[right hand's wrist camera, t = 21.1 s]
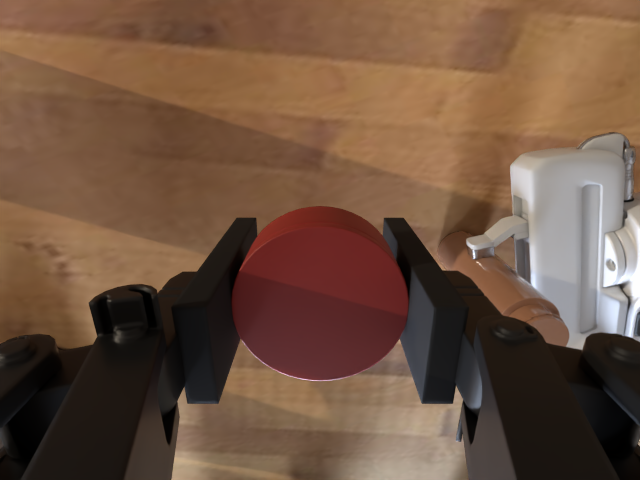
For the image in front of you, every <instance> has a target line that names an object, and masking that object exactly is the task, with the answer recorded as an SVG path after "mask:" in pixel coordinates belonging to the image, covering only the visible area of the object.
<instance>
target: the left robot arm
mask: <svg viewBox="0 0 640 480" xmlns="http://www.w3.org/2000/svg"><path fill="white" fill-rule="evenodd" d="M635 160H636V151H635V147H634V146H630V143H629V140H628V139H627V137H626V136H624V135H623V134H621V133H618V132H609V133H605V134H601V135H597V136H593V137H590V138H588V139H586V140H585V141H583V142H582V143H581V144H580V145H579V146H578V147H562V148H552V149H544V150H537V151H532V152H527V153H523V154H521V155H520V156H519V157H518V158H517V159H516V160H515V161H514V162H513V163H512V164H511V166H510V175H511V193H512V211H513V216H509V217H505V218H501V219H500V220H499V221H498V222H497V223H495V224H494V225H493V226H492V227H491V228H490V229H488V230H487V231H486V232H485V233H484V234H483V235H478V236H474V237H470V238H467V239H466V243H467V252H468V255H470V256H471V258H472V259H477V260H478V259H482V258H483V257H486V258H487V257H492V256H494V248H495V247H496V246H498V245H499V244H500V243H502V242H503V241H505V240H506V239H507V238H509V237H510V236H511V237H512V238H514V247H515V265H516V272H517V273H518V274H519V275H520V276H521V277H523V278H524V279H525V280H526V281H527V282H528V283H530V284H531V285H532V286H533V287H534V288H535V289H537V290H538V291H539V292H540V293H541V294H542V295H544V296H545V297H546V298H547V299H548V300H549V301H551V302H552V303H553V304H554V305H555V306H556V307H557V309H558V311H559V314H560V318H562V319H563V321H564V323H565V325H566V326H567V328H568V330H569V341H568V344H567V345H566V347H570V348H575V349H580V350H582V349H583V346H584V343H585V339H586V337H588V336H589V335H590V334H593V333H600V332H603V333H612V334H613V333H616V334H621V335H622V336H624V335H625V336H628V337H631V338H633V339H635V340H637V341H639V342H640V192H636V193H633V191H634V175H633V168H634V163H635Z"/></svg>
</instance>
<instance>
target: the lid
mask: <svg viewBox="0 0 640 480" xmlns="http://www.w3.org/2000/svg"><path fill="white" fill-rule="evenodd" d="M231 304H232V314H233V321H234V324H235V327H236V330H237V332H238V334H239V336H240V338H241V340H242V341H243V343H244V344H245V346H246V347H247V348H248V349H249V350H250V352H251V353H252V354H253V355H254V356H255V357H257V358H258V359H259V360H260V361H261V362H263V363H264V364H266V365H267V366H269V367H270V368H272V369H274V370H276V371H278V372H280V373H282V374H285V375H288V376H291V377H295V378H298V379H304V380H312V381H328V380H336V379H342V378H346V377H349V376H353V375H355V374H358V373H360V372H363V371H364V370H366V369H368V368H370V367H372V366H373V365H375V364H376V363H378V362H379V361H380V360H381V359H383V358H384V357H385V356H386V355H387V354H388V353H389V352H390V351H391V349H392V348H393V347H394V346H395V344H396V343H397V341H398V340H399V338H400V336H401V334H402V332H403V330H404V328H405V325H406V322H407V316H408V306H409V295H408V288H407V285H406V282H405V279H404V276H403V274H402V272H401V270H400V268H399V266H398V264H397V262H396V260H395V257H394V255H393V253H392V251H391V249H390V247H389V245H388V243H387V242H386V240H385V239H384V237H383V236H382V235H381V233H380V232H379V231H378V230H377V229H376V228H375V227H374V226H373V225H371V224H370V223H369V222H368V221H366V220H365V219H363V218H362V217H360V216H358V215H356V214H354V213H352V212H349V211H346V210H343V209H339V208H334V207H324V206H316V207H307V208H301V209H297V210H294V211H291V212H288V213H286V214H284V215H282V216H280V217H279V218H277V219H276V220H274V221H272V222H271V223H270V224H269V225H268V226H266V227H265V228H264V229H263V230H262V231H261V233H260V234H259V235H258V236H257V237H256V239H255V241H254V242H253V244H252V246H251V248H250V250H249V252H248V254H247V256H246V258H245V260H244V262H243V264H242V266H241V268H240V270H239V272H238V274H237V277H236V279H235V282H234V285H233V289H232V296H231Z"/></svg>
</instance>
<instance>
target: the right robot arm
mask: <svg viewBox="0 0 640 480" xmlns="http://www.w3.org/2000/svg"><path fill="white" fill-rule="evenodd" d="M256 237H257V223H256V218H236V220H235V221H234V222H233V224H232V225H231V226H230V228H229V229H228V230H227V232H226V233H225V234H224V236H223V237H222V239H221V240H220V241H219V243H218V244H217V245H216V247H215V248H214V249H213V251H212V252H211V253H210V255H209V256H208V258H207V259H206V260H205V262H204V263H203V264H202V266H201V267H200V268H199V270H198V271H197V272H182V273H180V274H178V275H176V276H175V277H173V278H171V279H170V280H169V281H168V282H167V283H166V284H165V286H164V287H163V288H162V290H160V291H159V293H158V294H157V290H156V289H155V288H153V287H152V286H148V285H143V284H136V285H126V286H121V287H117V288H114V289H111V290H108V291H105V292H103V293H101V294H99V295H98V296H96V297H94V298H93V299H92V300H91V301H90V302H89V306H90V310H91V314H92V317H93V321H94V325H95V329H96V333H97V338H96V340H95V342H94V344H93V345H89V346H85V347H79V348H74V349H69V350H61V349H58V348H57V345H56V342H55V339H54V338H52V337H51V336H50V335H43V334H35V335H24V336H19V337H18V338H17V337H15V338H12V339H9V340H7V341H6V342H4V343H1V344H0V480H171V478H172V470H173V463H174V455H175V448H176V440H177V433H178V426H179V418H180V416H179V409H178V403H177V400H178V398H179V396H180V394H181V392H182V390H183V388H184V386H185V392H186V398H187V404H218V403H219V400H220V397H221V394H222V392H223V389H224V386H225V383H226V380H227V377H228V374H229V371H230V368H231V365H232V362H233V359H234V356H235V353H236V350H237V347H238V344H239V342H240V339H241V338H240V336H239V334H238V332H237V330H236V327H235V324H234V321H233V314H232V304H231V296H232V289H233V285H234V282H235V279H236V277H237V274H238V272H239V270H240V268H241V266H242V264H243V262H244V260H245V258H246V256H247V254H248V252H249V250H250V248H251V246H252V244H253V242H254V241H255V239H256ZM383 237H384V239H385V240H386V242H387V243H388V245H389V247H390V249H391V251H392V253H393V255H394V257H395V260H396V262H397V264H398V266H399V268H400V270H401V272H402V274H403V276H404V279H405V282H406V285H407V288H408V295H409V306H408V316H407V322H406V325H405V328H404V330H403V332H402V334H401V336H400V341H401V344H402V347H403V350H404V353H405V356H406V358H407V361H408V364H409V367H410V370H411V373H412V376H413V379H414V382H415V385H416V388H417V391H418V394H419V397H420V400H421V403H422V404H453V399H454V394H455V388H456V385H457V388H458V390H459V392H460V394H461V396H462V398H463V403H462V409H461V414H460V420H459V425H458V430H457V437H456V441H460V442H461V439H462V434H463V440H464V447H465V454H466V462H467V469H468V477H469V480H640V446H639V445H638V441H639V439H640V342H639V341H637V340H635V339H633V338H631V337H628V336H625V335H624V336H622V335H621V334H616V333H613V334H612V333H603V332H600V333H593V334H590V335H589V336H588V337H586V339H585V343H584V346H583V349H582V350H580V349H575V348H570V347H564V346H559V345H554V344H549V343H546V341H545V339H544V338H543V336H542V335H541V334H540V332H539V331H538V330H537V329H536V328H534V327H533V326H531V325H530V324H528V323H526V322H524V321H521V320H519V319H516V318H513V317H508V316H504V315H502V314H501V313H500V311H499V310H498V309H497V308H496V307H495V306H494V304H493V303H492V302H491V301H490V300H489V299H488V298H487V296H484V293H483V292H482V291H481V290H480V288H478V286H477V285H476V284H475V283H474V281H473V280H472V279H471V278H470V277H468V276H466V275H464V274H463V273H461V272H459V271H442V269H441V268H440V267H439V265H438V264H437V263H436V261H435V260H434V259H433V257H432V256H431V254H430V253H429V252H428V250H427V249H426V248H425V246H424V245H423V244H422V242H421V241H420V240H419V238H418V237H417V235H416V234H415V233H414V231H413V230H412V229H411V227H410V226H409V225H408V223H407V222H406V221H405V219H404V218H384V227H383Z"/></svg>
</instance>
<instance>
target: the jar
mask: <svg viewBox="0 0 640 480" xmlns="http://www.w3.org/2000/svg"><path fill="white" fill-rule="evenodd" d="M470 237H474V235H472V234H470V233H468V232H463V231H460V232H454V233H452V234H450V235H448V236H446V237H445V238H444V239H443V240H442V241H441V243H440V245H439V247H438V251H437V255H438V259H439V261H440V263H441V264H442V266H443V267H444V268H445V270H446V271H459V272H461V273H463V274H464V275H466V276H468V277H470V278H471V279H472V280H473V281H474V283H475V284H476V285H477V286H478V288H480V290H481V291H482V292H483V293H484V296H487V298H488V299H489V300H490V301H491V302H492V303H493V304H494V306H495V307H496V308H497V309H498V310H499V311H500V313H501V314H502V315H504V316H508V317H513V318H516V319H519V320H521V321H524V322H526V323H528V324H530V325H531V326H533V327H534V328H536V329H537V330H538V331H539V332H540V334H541V335H542V336H543V338H544V339H545V341H546V343H549V344H554V345H559V346H564V347H566V345H567V344H568V341H569V330H568V328H567V326H566V325H565V323H564V321H563V319H562V318H560V314H559V311H558V309H557V307H556V306H555V305H554V304H553V303H552V302H551V301H549V300H548V299H547V298H546V297H545V296H544V295H542V294H541V293H540V292H539V291H538V290H537V289H535V288H534V287H533V286H532V285H531V284H530V283H528V282H527V281H526V280H525V279H524V278H523V277H521V276H520V275H519V274H518V273H517V272H516V271H514V270H513V269H512V268H511V267H510V266H509V265H507V264H506V263H505V262H504V261H503V260H502V259H500V258H499V257H498V256H497V255H496V254H495V253H494V256H492V257H487V258H486V257H483V258H482V259H478V260H477V259H472V258H471V256H470V255H468V252H467V243H466V239H467V238H470Z"/></svg>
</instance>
